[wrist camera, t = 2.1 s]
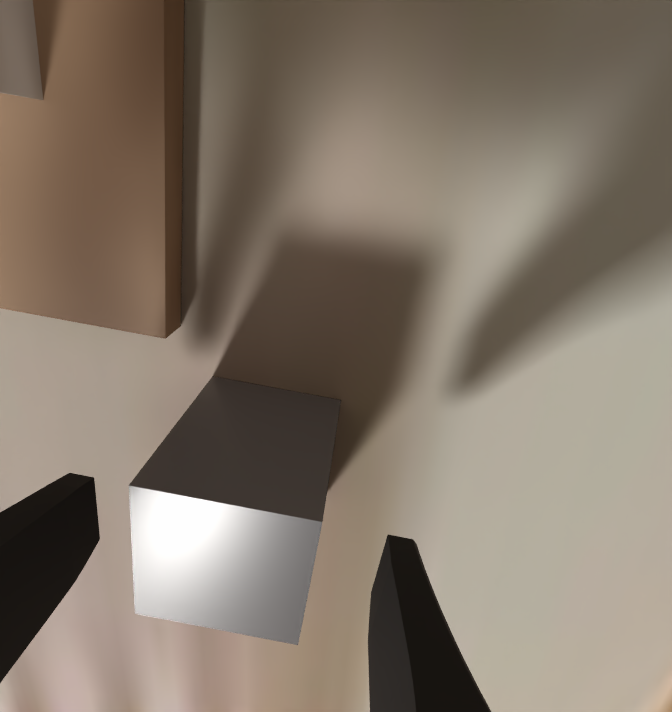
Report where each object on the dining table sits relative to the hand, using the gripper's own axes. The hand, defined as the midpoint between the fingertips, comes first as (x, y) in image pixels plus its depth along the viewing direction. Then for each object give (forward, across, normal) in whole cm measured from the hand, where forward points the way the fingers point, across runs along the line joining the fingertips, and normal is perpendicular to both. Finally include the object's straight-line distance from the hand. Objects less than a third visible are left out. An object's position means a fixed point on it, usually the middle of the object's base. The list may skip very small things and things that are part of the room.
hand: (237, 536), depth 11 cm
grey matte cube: (+4, 0, 0) cm, 4 cm away
